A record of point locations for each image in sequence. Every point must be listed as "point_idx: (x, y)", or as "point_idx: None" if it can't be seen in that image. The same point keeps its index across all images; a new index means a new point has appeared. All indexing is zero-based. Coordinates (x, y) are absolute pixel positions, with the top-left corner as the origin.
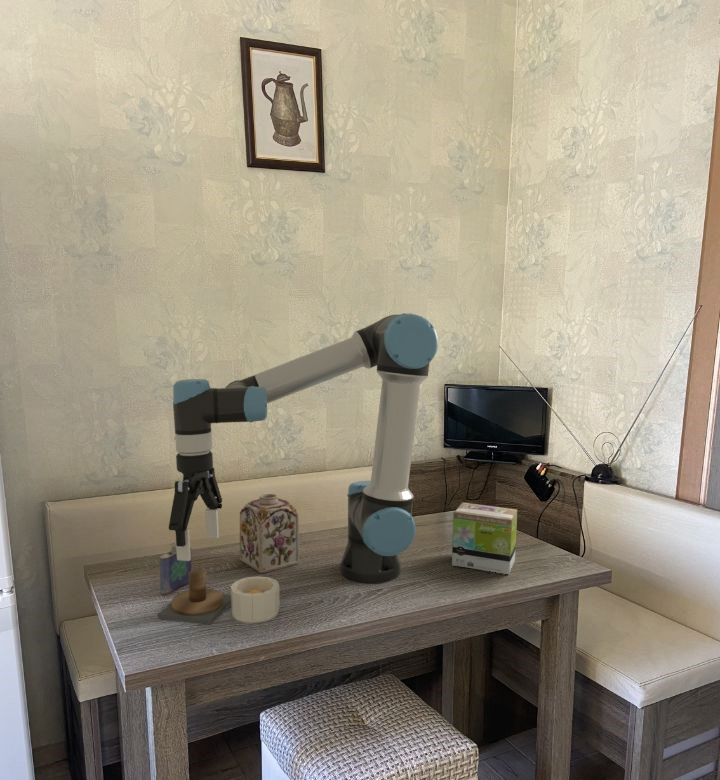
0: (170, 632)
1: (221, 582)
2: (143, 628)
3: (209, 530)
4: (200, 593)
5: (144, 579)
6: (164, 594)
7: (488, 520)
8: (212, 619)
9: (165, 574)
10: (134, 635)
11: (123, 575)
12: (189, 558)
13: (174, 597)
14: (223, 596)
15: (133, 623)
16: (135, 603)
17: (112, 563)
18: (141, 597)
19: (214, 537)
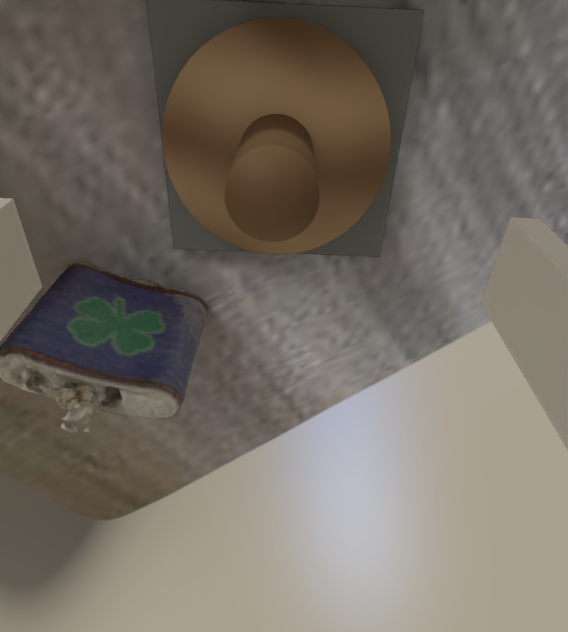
0: (484, 160)
1: (12, 146)
2: (449, 262)
3: (2, 297)
4: (304, 137)
5: None
6: (204, 305)
7: None
8: (407, 9)
9: (189, 348)
10: None
11: (118, 453)
12: (540, 225)
13: (283, 251)
14: (176, 54)
15: (414, 304)
16: (281, 355)
17: (63, 499)
18: (238, 357)
19: (19, 227)
